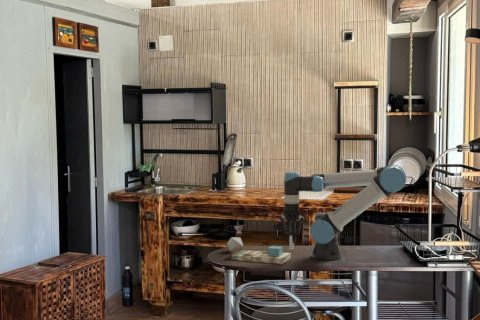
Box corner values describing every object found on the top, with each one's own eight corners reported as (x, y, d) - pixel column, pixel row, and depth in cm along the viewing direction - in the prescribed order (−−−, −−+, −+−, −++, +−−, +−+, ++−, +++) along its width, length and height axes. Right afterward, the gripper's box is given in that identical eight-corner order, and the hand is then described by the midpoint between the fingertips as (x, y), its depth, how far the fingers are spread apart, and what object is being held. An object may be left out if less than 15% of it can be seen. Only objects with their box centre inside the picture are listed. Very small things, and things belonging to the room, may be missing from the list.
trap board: (290, 257, 280) (290, 248, 280) (282, 263, 267) (282, 254, 267) (240, 253, 291) (240, 245, 291) (230, 259, 278) (230, 250, 278)
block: (282, 254, 278) (282, 246, 278) (279, 256, 272) (279, 248, 272) (271, 253, 280) (271, 245, 280) (267, 255, 274) (267, 248, 274)
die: (245, 251, 299) (237, 236, 303) (245, 247, 292) (238, 231, 295) (232, 257, 298) (224, 242, 301) (232, 253, 290) (224, 237, 294)
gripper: (306, 202, 272) (306, 248, 274) (281, 201, 277) (281, 246, 279) (302, 204, 265) (302, 251, 267) (277, 203, 270) (277, 249, 272)
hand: (291, 249), depth 273 cm, fingers closed
